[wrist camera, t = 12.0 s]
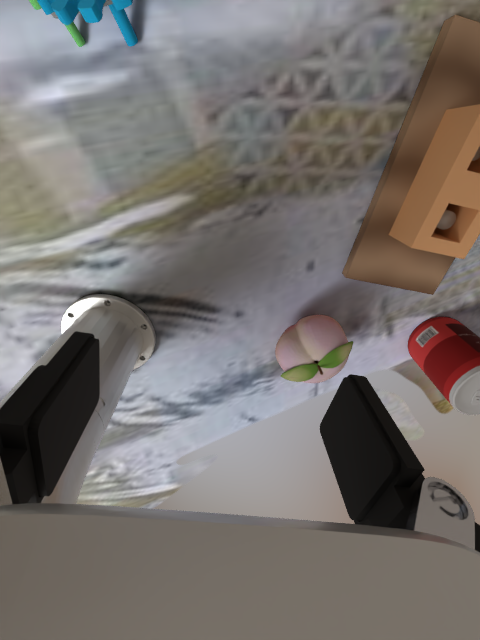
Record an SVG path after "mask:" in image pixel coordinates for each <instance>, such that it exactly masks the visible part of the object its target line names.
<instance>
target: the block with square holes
mask: <svg viewBox="0 0 480 640" xmlns="http://www.w3.org/2000/svg"><path fill="white" fill-rule="evenodd" d="M479 146H480V104H478V105H472V106H466V107H460V108H453V109H447V110H446V111H445V113H444V116H443V118H442V120H441V122H440V124H439V126H438V129H437V131H436V133H435V135H434V137H433V139H432V142H431V144H430V146H429V148H428V150H427V152H426V155H425V157H424V159H423V161H422V163H421V166H420V168H419V170H418V172H417V174H416V176H415V179H414V181H413V183H412V185H411V187H410V189H409V192H408V194H407V196H406V198H405V200H404V202H403V205H402V207H401V209H400V211H399V213H398V215H397V218H396V220H395V222H394V224H393V226H392V228H391V231H390V233H389V235H390V236H392V237H393V238H395V239H397V240H399V241H400V242H402V243H404V244H405V245H407V246H409V247H411V248H414V249H419V250H424V251H428V252H433V253H438V254H442V255H447V256H452V257H456V258H461V259H464V258H465V257H466V255H467V254H468V252H469V250H470V249H471V247H472V245H473V244H474V242H475V241H476V239H477V237H478V236H479V234H480V157H479V158H478V159H477V160H475V161H472V159H473V157H474V156H475V154H476V152H477V150H478V148H479ZM445 210H449V211H452V212H454V213H455V214H456V221H455V223H454V224H453V225H452V226H451V227H450V228H448V229H445V230H442V229H439V228H437V227H436V226H437V225H438V223H439V221H440V219H441V217H442V215H443V213H444V212H445Z"/></svg>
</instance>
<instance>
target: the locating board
mask: <svg viewBox="0 0 480 640" xmlns="http://www.w3.org/2000/svg"><path fill="white" fill-rule="evenodd" d="M478 104H480V22H477V21H474V20H470V19H467V18H464V17H461V16H458V15H454V16H452V17H451V18H449V19H447V20H446V21H444V23H443V26H442V28H441V31H440V33H439V36H438V38H437V41H436V43H435V46H434V48H433V51H432V53H431V55H430V58H429V60H428V63H427V65H426V68H425V70H424V73H423V75H422V78H421V80H420V83H419V85H418V88H417V90H416V92H415V95H414V97H413V100H412V102H411V105H410V107H409V110H408V112H407V115H406V117H405V120H404V122H403V124H402V127H401V129H400V132H399V134H398V137H397V139H396V142H395V144H394V147H393V149H392V152H391V154H390V156H389V159H388V161H387V164H386V166H385V169H384V171H383V174H382V176H381V179H380V181H379V184H378V186H377V188H376V191H375V193H374V196H373V198H372V201H371V203H370V206H369V208H368V211H367V213H366V216H365V218H364V220H363V223H362V225H361V228H360V230H359V233H358V235H357V238H356V240H355V243H354V245H353V248H352V250H351V252H350V255H349V257H348V260H347V262H346V265H345V267H344V270H343V272H342V274H343V275H344V276H345V277H346V278H350V279H355V280H360V281H365V282H370V283H376V284H381V285H386V286H391V287H396V288H401V289H407V290H412V291H417V292H422V293H427V294H432V295H433V294H434V292H435V291H436V289H437V287H438V286H439V284H440V282H441V281H442V279H443V277H444V275H445V274H446V272H447V270H448V269H449V267H450V265H451V264H452V262H453V260H454V259H455V257H452V256H447V255H442V254H438V253H433V252H428V251H424V250H419V249H414V248H411V247H409V246H407V245H405V244H404V243H402V242H400V241H399V240H397V239H395V238H393V237H392V236H390V235H389V233H390V231H391V228H392V226H393V224H394V222H395V220H396V218H397V215H398V213H399V211H400V209H401V207H402V205H403V202H404V200H405V198H406V196H407V194H408V192H409V189H410V187H411V185H412V183H413V181H414V179H415V176H416V174H417V172H418V170H419V168H420V166H421V163H422V161H423V159H424V157H425V155H426V152H427V150H428V148H429V146H430V144H431V142H432V139H433V137H434V135H435V133H436V131H437V129H438V126H439V124H440V122H441V120H442V118H443V116H444V113H445V111H446V110H447V109H453V108H460V107H466V106H472V105H478ZM479 157H480V146H479V148H478V150H477V152H476V154H475V156H474V157H473V159H472V161H475V160H477V159H478V158H479ZM455 221H456V214H455V213H454V212H452V211H449V210H445V212H444V213H443V215H442V217H441V219H440V221H439V223H438V225H437V226H436V227H437V228H439V229H442V230H445V229H448V228H450V227H451V226H452V225H453V224H454V223H455Z"/></svg>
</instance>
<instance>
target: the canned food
mask: <svg viewBox="0 0 480 640" xmlns="http://www.w3.org/2000/svg"><path fill="white" fill-rule="evenodd" d="M408 350H409V353H410V355H411V357H412V358H413V359H414V360H415V362H416V363H417V364H418V365H419V367H420V368H421V369H422V370H423V371H424V373H425V374H426V375H427V376H428V377H429V379H430V380H431V381H432V382H433V384H434V385H435V386H436V387H437V388H438V390H439V391H440V392H441V393H442V394H443V396H444V397H445V398H446V399H447V400H448V401H449V403H450V404H451V405H452V406H453V407H454V408H455V409H456V410H457V411H459V412H460V413H463V414H467V415H479V414H480V337H478V336H477V335H476V334H474V333H473V332H472V331H471V330H469V329H468V328H467V327H465V326H464V325H463V324H462V323H460V322H459V321H457V320H455V319H452V318H449V317H435V318H432V319H429V320H427V321H425V322H423V323H422V324H420V325H419V326H418V327H417V328H416V329H415V330H414V331H413V332H412V334H411V335H410V337H409V340H408Z"/></svg>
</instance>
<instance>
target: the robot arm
mask: <svg viewBox="0 0 480 640" xmlns="http://www.w3.org/2000/svg"><path fill="white" fill-rule="evenodd" d="M61 331H62V335H61V336H60V337H59V338H58V339H57V340H56V341H55V342H54V343H53V344H52V346H51V347H50V348H49V349H48V350H47V351H46V352H45V353H44V354H43V355H42V357H41V358H40V359H39V360H38V361H37V362H36V363H35V364H34V365H33V366H32V368H31V369H30V370H29V371H28V372H27V373H26V374H25V375H24V376H23V377H22V379H21V380H20V381H19V382H18V383H17V384H16V385H15V386H14V387H13V388H12V390H11V391H10V392H9V393H8V394H7V395H6V396H5V397H4V398H3V399H2V401H1V402H0V640H480V525H478V524H477V523H475V519H474V513H473V510H472V508H471V506H470V504H469V503H468V501H467V500H466V499H465V497H464V496H463V495H462V494H461V493H460V492H459V491H458V490H457V489H456V488H454V487H453V486H452V485H450V484H449V483H447V482H445V481H444V480H442V479H439V478H435V477H428V478H426V479H425V478H424V476H423V475H422V472H423V471H424V468H423V467H422V465H421V463H420V462H419V460H418V459H417V457H416V455H415V454H414V452H413V451H412V449H411V447H410V446H409V445H408V443H407V441H406V440H405V438H404V436H403V435H402V433H401V432H400V430H399V429H398V427H397V425H396V424H395V422H394V421H393V419H392V417H391V416H390V414H389V413H388V411H387V410H386V408H385V406H384V405H383V403H382V402H381V400H380V398H379V397H378V395H377V394H376V392H375V391H374V389H373V387H372V386H371V384H370V383H369V381H368V380H367V378H366V377H364V376H358V375H349V376H348V377H345V378H344V379H343V381H342V382H341V384H340V386H339V388H338V390H337V393H336V395H335V396H334V398H333V400H332V402H331V404H330V406H329V408H328V410H327V412H326V414H325V416H324V418H323V420H322V422H321V424H320V433H321V436H322V439H323V441H324V445H325V447H326V450H327V453H328V456H329V459H330V462H331V465H332V468H333V471H334V474H335V477H336V479H337V482H338V485H339V488H340V491H341V494H342V497H343V500H344V503H345V506H346V509H347V512H348V514H349V516H350V518H351V519H352V520H354V522H355V524H345V523H333V522H321V521H308V520H296V519H284V518H270V517H257V516H245V515H230V514H218V513H205V512H191V511H177V510H162V509H148V508H134V507H120V506H101V505H83V504H76V502H77V499H78V496H79V493H80V490H81V487H82V485H83V482H84V479H85V477H86V474H87V472H88V469H89V467H90V464H91V462H92V460H93V457H94V455H95V453H96V450H97V448H98V446H99V444H100V441H101V439H102V437H103V435H104V433H105V430H106V428H107V426H108V424H109V422H110V419H111V417H112V415H113V413H114V410H115V408H116V406H117V404H118V401H119V399H120V397H121V395H122V393H123V390H124V388H125V386H126V384H127V381H128V379H129V377H130V375H131V373H132V370H134V369H136V368H138V367H140V366H142V365H143V364H144V363H146V362H147V361H148V359H149V358H150V357H151V355H152V353H153V350H154V347H155V343H156V335H155V330H154V328H153V325H152V323H151V321H150V320H149V318H148V317H147V316H146V314H145V313H144V312H143V311H142V310H141V309H139V308H138V307H137V306H136V305H134V304H132V303H131V302H129V301H127V300H125V299H122V298H120V297H117V296H112V295H107V294H95V295H89V296H86V297H83V298H80V299H79V300H77V301H75V302H74V303H73V304H72V305H71V306H70V307H69V308H68V309H67V310H66V311H65V313H64V315H63V318H62V322H61Z"/></svg>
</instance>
